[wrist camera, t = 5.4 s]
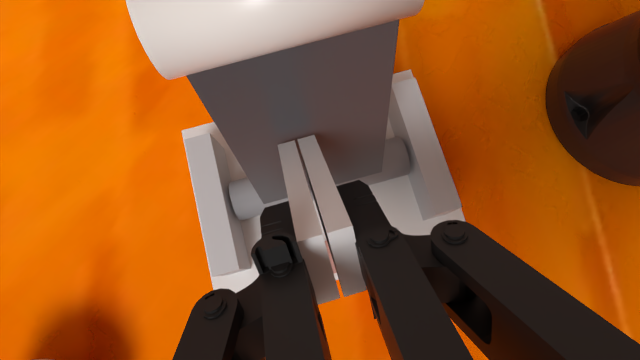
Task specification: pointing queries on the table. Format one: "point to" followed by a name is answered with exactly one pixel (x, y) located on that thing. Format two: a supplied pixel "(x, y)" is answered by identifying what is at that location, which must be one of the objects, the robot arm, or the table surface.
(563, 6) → the table surface
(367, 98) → the lever
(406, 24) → the table surface
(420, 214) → the box
